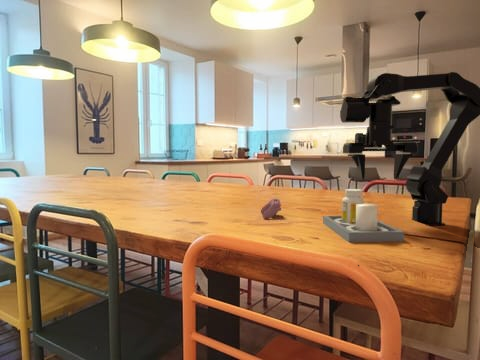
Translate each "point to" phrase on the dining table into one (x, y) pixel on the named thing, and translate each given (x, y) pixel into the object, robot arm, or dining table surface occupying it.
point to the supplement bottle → (351, 205)
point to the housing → (351, 235)
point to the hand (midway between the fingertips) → (378, 179)
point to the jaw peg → (366, 217)
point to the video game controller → (271, 208)
